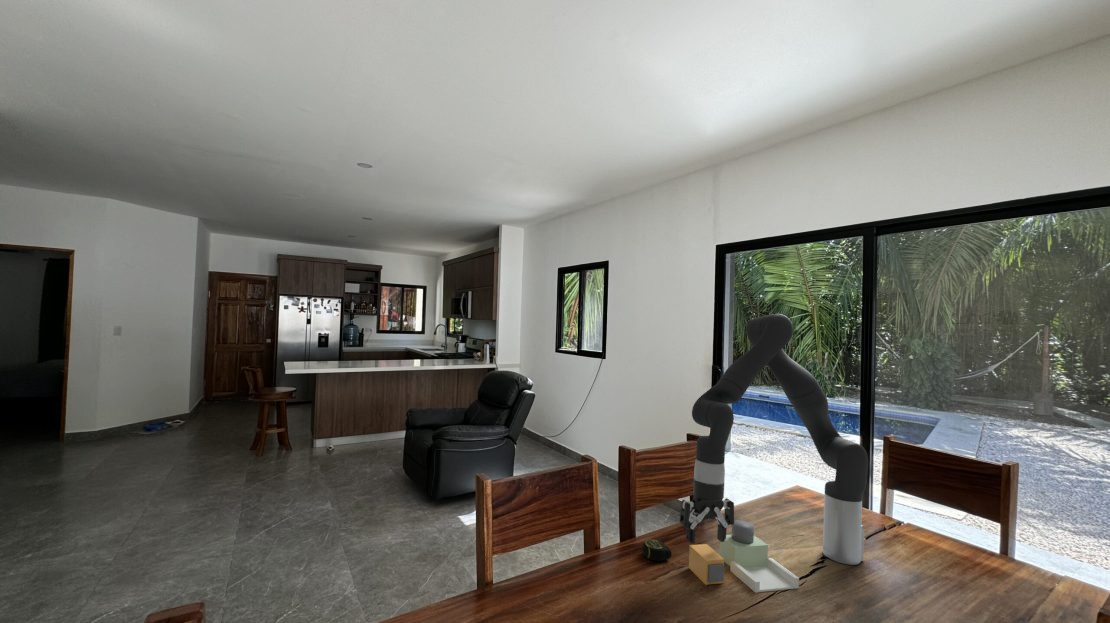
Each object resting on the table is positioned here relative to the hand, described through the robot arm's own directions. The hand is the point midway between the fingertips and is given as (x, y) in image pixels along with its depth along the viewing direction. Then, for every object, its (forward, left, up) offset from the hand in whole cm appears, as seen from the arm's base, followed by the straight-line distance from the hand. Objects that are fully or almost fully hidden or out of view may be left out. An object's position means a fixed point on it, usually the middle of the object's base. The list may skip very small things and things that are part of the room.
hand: (705, 541), depth 120 cm
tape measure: (+8, -11, -9) cm, 16 cm away
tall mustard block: (0, 0, -9) cm, 9 cm away
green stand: (-14, +1, -8) cm, 17 cm away
